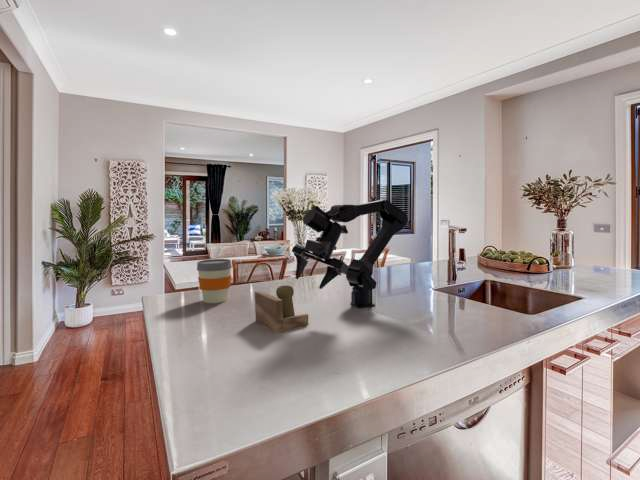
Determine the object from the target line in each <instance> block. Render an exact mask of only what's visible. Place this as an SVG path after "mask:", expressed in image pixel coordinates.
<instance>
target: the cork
mask: <svg viewBox="0 0 640 480" xmlns="http://www.w3.org/2000/svg"><path fill="white" fill-rule="evenodd" d="M275 293H276V297H277V298H279V299H281V300H282V302H283V318H287V317H291V316H296V314H295V308H294V307H295V306H294V302H293V296H294V293H295V291H294V287H293V286H291V285H279V286H278V287H277V288H276V292H275Z"/></svg>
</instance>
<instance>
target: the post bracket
mask: <svg viewBox="0 0 640 480" xmlns="http://www.w3.org/2000/svg"><path fill="white" fill-rule="evenodd" d="M254 303H255V304H254V306H255V307H254V308H255V309H254V310H255V321H256V322H257V323H259V324H261V325H262V326H263V327H265V328H267V329H269V330H270V331H271V332H273V333H274V334H281V333H284V331H287V330H290V329H295V328H298V327H303V326H307V325H309V314H308V313H306V312H305V313H301V314H295V316H291V317H287V318H283V302H282V300H281V299H279V298H278V297H277V296H275V295H271V294H269V293H268V292H265V291H262V290H258V291H257V290H256V291H254Z"/></svg>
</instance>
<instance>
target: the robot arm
mask: <svg viewBox="0 0 640 480" xmlns="http://www.w3.org/2000/svg"><path fill="white" fill-rule="evenodd" d="M375 213H378V216H379V217H380V218H381V219H382V220H381V228H380V230H379V232H378V233H377V234H376V235H375V237H374V238H373V240H372V241H371V243H370V245H369V246H368V247H367V249H366V250H365V252H364V253H363V255H362V256H361V258H359V259H355V258H353V259H352V260H351V262H350V264H349V265H347V263H346V262H345V261H344V260H341V259H339V258H336V257H332V258H331V256H332V254H333V252H334V251H336V250H337V248H338V247H337V244H338V241H339V239H340V238H341V235H342V234H349V231H348V229H347V225H344V224H340V223H350V222H351V221H353V220H355V219H357V217H360V216H364V215H369V214H375ZM408 221H409V218H408V215H407V213H406V211H403V210H402V209H401V208H400V207H398V206H397V205H394V204H393V203H392V202H391V201H390V200H389V199H385V198H384V199H377V200H375V201H373V200H372V201H370V202H368V201H367V202H364V203H363V202H362V203H358V204H333V205H332V206H331V207H330V209H329V210H327V211H324V210H323V209H322V208H321V207H320V206H318V205H313V206H312V207H311V209H309V210H308V211H307V212H306V213H305V215H304V216H303V218H302V222H303V225H305V226H308V228H310V229H312V230H313V231H314V232H316V233H321V234H320V237H319V236H317V237H316V238H315V240H313V239H306V242H305V246H302V245H299V244H295V245H294V246H292V249H291V252H292V253H293V256H294V257H295V259H296V269H295V277H294V278H295V279H296V280H298V279H299V278H300V277H301V276H302V273H303V272H304V270H305V268H306V266H307V265H308V263H309V261H308V260H309V259H310V260H313V261H316V262H319V263H322V264H324V265H327V266H326V272H325V274H324V276H323V278H322V279H321V282H320V284H319V287H318V289H320V290H322V289H323V288H324V287H325V286H327V285H328V284H329V283H330V282H331V281H333V280H334V279H335V278H337V277H338V276H342V274H343V275H345V278H346V280H347V282H348V285H349V286H350V287H352V289H351V293H350V294H351V296H350V297H351V298H350V299H351V301H350V305H352V306H354V307H356V308H358V309H359V308H360V309H361V308H366V307H367V308H368V307H373V306H376V303H374V302H373V290H375V289H376V287H377V281H376V280H375V279H374V278H373V274H374V273H373V272H374V265H375V264H376V262H377V261H378V259H379V257H380V256H381V255H382V253H383V252H384V250H385V248H387V245H388V244H389V242H390V241H391V239H392V238H393V236H394V235H397V234H398V233H399V232H401V231H402V230H403V229H404V228H405V227H406V226H407V224H408Z"/></svg>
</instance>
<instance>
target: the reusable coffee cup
mask: <svg viewBox="0 0 640 480" xmlns="http://www.w3.org/2000/svg"><path fill="white" fill-rule="evenodd" d="M196 270H197V272H198V277H197V278H198V284H199V289H200V290H201V293H202V298H203V303H205V304H220V303H221V304H222V303H225V302H226V301H229V292H230V288H231V283H232V274H231V272H232V271H231V270H232V261H231V259H230V258H229V259H226V258H212V259H204V260H199V261H197V263H196Z"/></svg>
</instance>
